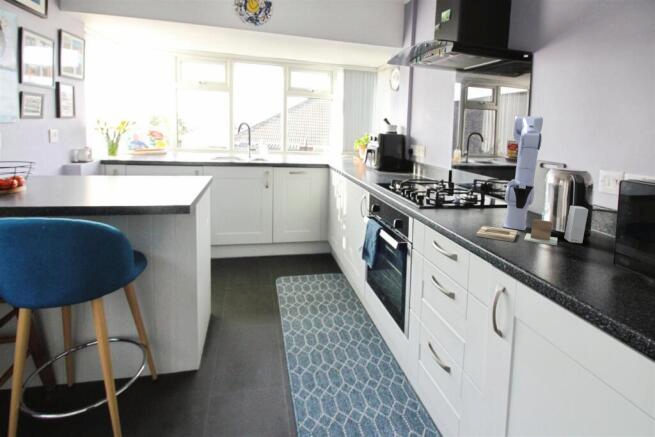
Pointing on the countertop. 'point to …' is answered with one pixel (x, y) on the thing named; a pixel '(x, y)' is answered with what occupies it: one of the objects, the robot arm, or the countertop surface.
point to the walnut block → (541, 229)
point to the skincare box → (576, 224)
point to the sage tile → (552, 240)
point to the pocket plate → (486, 232)
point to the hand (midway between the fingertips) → (520, 207)
